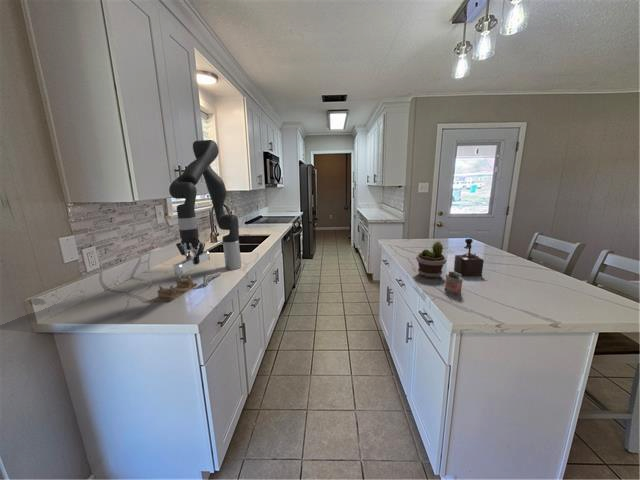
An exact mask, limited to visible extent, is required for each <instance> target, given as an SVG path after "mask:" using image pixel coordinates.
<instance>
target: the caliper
mask: <svg viewBox="0 0 640 480" xmlns="http://www.w3.org/2000/svg"><path fill="white" fill-rule="evenodd" d="M222 273H223V272H222V271H218V272H215V273H213V274H203V277H202V278H203V279H202V280H203V281H202V282H203V287H208V286H209V281H212V278H215V277H218V276H220V275H222Z"/></svg>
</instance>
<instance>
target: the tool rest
mask: <svg viewBox="0 0 640 480" xmlns="http://www.w3.org/2000/svg"><path fill="white" fill-rule="evenodd" d="M196 286H198V283H197V282H196V283H195V282H194V280H193V278H191V276H190V275H188V276H187V278H181V275H177V280H176V286H175V287H174V286H173V285H170V286H169V288H167V287H166V288H165V287H164V286H163V285H162V284H160V285H159V286H158V288H159V289H158V290H157V295H158V296H157V297H155V298H153V300H154V302H166V303H170V302H172V301H174V300H176V299H177V298H178V297H181V296H182V295H183V294H185V293H187V292H188V291H190V290H192V289H194V288H195V287H196Z"/></svg>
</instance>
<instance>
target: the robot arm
mask: <svg viewBox="0 0 640 480" xmlns="http://www.w3.org/2000/svg"><path fill="white" fill-rule="evenodd" d="M192 151H193V154H194V156H195V159H194V160H193V161H191V163H189V164H188V165H187V166H186V168H185V169H184V171H183V172H182V174H180V175H179V176H178V177H177V178H176V179H174V180H173V181H172V182H171V183H170V185H169V189H168V193H169V194H170V196H171V197H172V198H173V199H176V200H177V199H178V200H179V199H181V200H182V199H185V200H184V202H183V203H181V204H179V205H178V204H177V206H176V214H177V220H178V221H177V226H178V231H179V238H180V242H178V243H176V245H175V246H176V248H177V249H178V251H179V253H180V255H181V256H184V257H185V260H186V259H188V258H190V257H192V255H193V256H194V261H195V265H197V264H199V262H200V260H199V255H202V254H203V252H204V250H205V246H206V242H201V241H200V239H199V235H200V234H199V228H198V220H197V218H196V217H197V216H196V211H195V207H196V200H197V192H198V191H197V187H196V185H197V184H198V183H199V181H200V179H201V178H202V176H203V179H204V181H205V184H206V188H207V192H208V194H209V197H210V200H211V203H212V206H213V210H214V214H215V218H216V224H217V226H218V228H219V229H220V230H223V231H229V233H228V234H226V235H224V236H222V239H221V240H222V245H223V247H222V248H223V256H224V257H223V258H224V266H225V269H226V270H228V271H232V270H233V271H235V270H238V269H240V268H241V267H242V257H241V251H240V240H239V237H240V229H239V225H240V224H239V219H238V217H237V215H235V214H226V213H225V210H224V204H225V200H226V199H227V194H228V193H227V192H228V191H227V188H226V185H225V182H224V180H223V179H222V178H221V176H219V174H218V173H217V172H216V171H214V170H213V168H212V166H211V164H212V163H213V162H214V161H215V160H216V159H217V157H218V155H219V153H220V151H219V146H218V143H216V141H215V140H212V139H204V140H200V139H199V140H194V142H193V143H192ZM191 253H192V254H191Z"/></svg>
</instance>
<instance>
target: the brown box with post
mask: <svg viewBox="0 0 640 480" xmlns="http://www.w3.org/2000/svg"><path fill="white" fill-rule="evenodd" d="M464 241H465V243H466V245H465V246H464V247H463V248H464V249H466V250H468V253H467V252H466V253H464V254H456V255H455V256H454V262H453V263H454V265H453V272H454V271H455V272H456V273H459V274H461V275H462V276H461V277H463V278H466V277H467V278H469V277H470V278H471V277H482V276H483V269H484V262H485V260H484V259H483V258H481V257H479V255H477V254H476V253H474V254H473V253H472V252H471V250H472V243H473V241H474V240H473V239H472V238H466V239H465V240H464Z"/></svg>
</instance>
